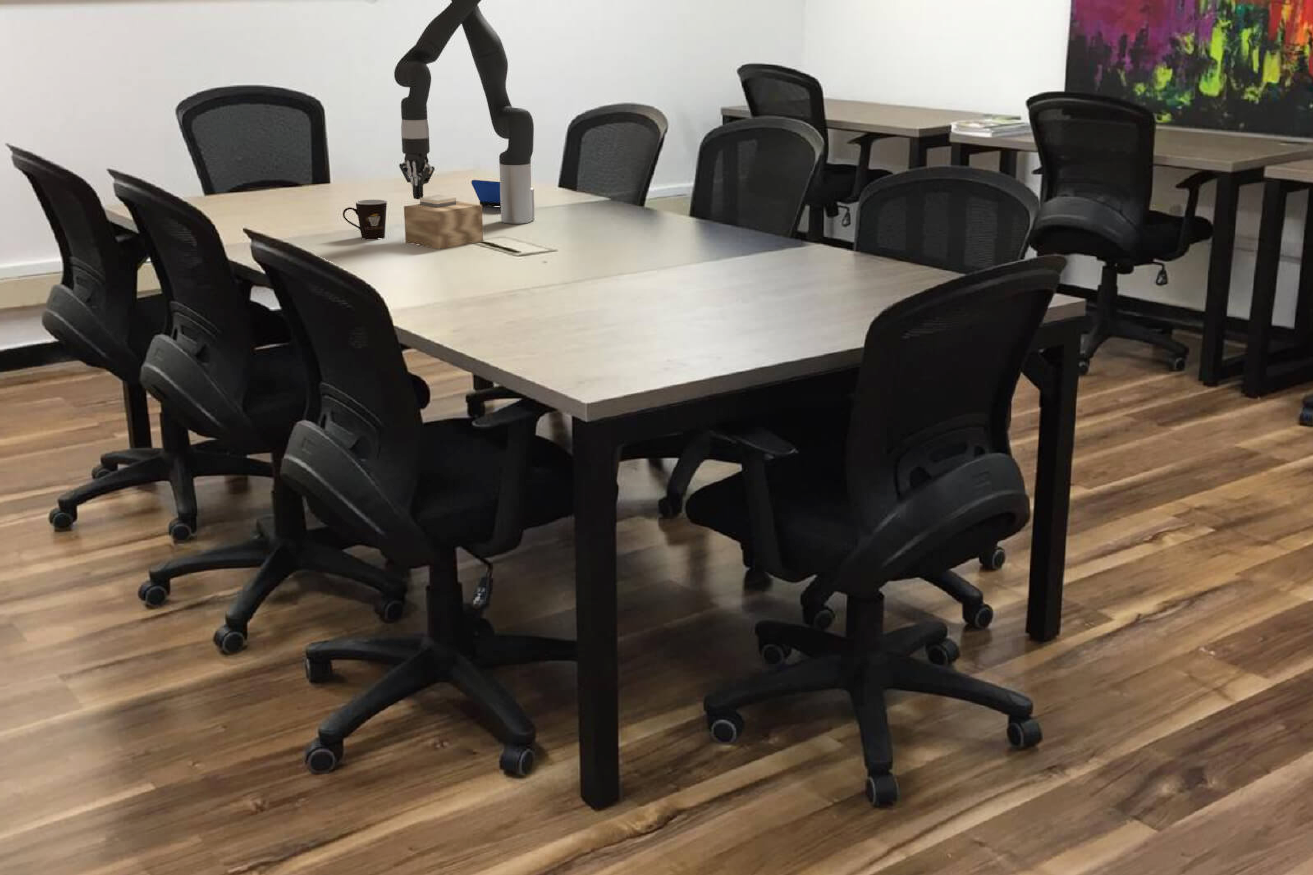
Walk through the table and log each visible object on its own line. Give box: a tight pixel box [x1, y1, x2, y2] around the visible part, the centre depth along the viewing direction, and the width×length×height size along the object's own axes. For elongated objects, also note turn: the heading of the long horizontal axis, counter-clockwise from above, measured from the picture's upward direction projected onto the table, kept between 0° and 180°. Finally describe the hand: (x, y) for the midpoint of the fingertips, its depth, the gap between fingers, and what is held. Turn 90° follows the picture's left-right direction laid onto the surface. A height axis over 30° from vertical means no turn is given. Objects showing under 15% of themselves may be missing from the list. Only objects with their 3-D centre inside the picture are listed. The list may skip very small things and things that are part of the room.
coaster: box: [419, 194, 457, 208], centre depth 409 cm, size 7×7×2 cm
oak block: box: [403, 200, 484, 250], centre depth 410 cm, size 16×14×10 cm
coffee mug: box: [342, 199, 388, 240], centre depth 416 cm, size 12×9×10 cm
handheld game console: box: [470, 179, 501, 207], centre depth 467 cm, size 16×13×9 cm
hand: (418, 198), depth 414 cm, fingers closed
